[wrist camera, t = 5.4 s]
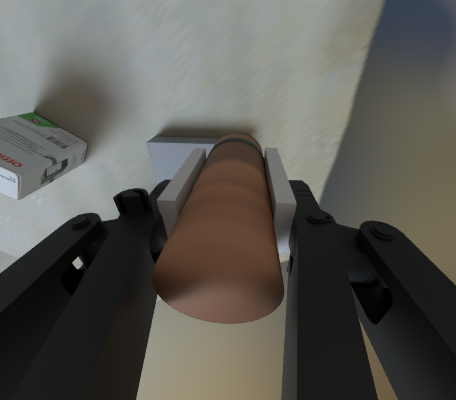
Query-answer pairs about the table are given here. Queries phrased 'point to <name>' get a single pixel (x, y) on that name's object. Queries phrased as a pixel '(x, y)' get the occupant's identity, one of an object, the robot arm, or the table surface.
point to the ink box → (35, 154)
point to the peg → (224, 241)
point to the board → (174, 153)
